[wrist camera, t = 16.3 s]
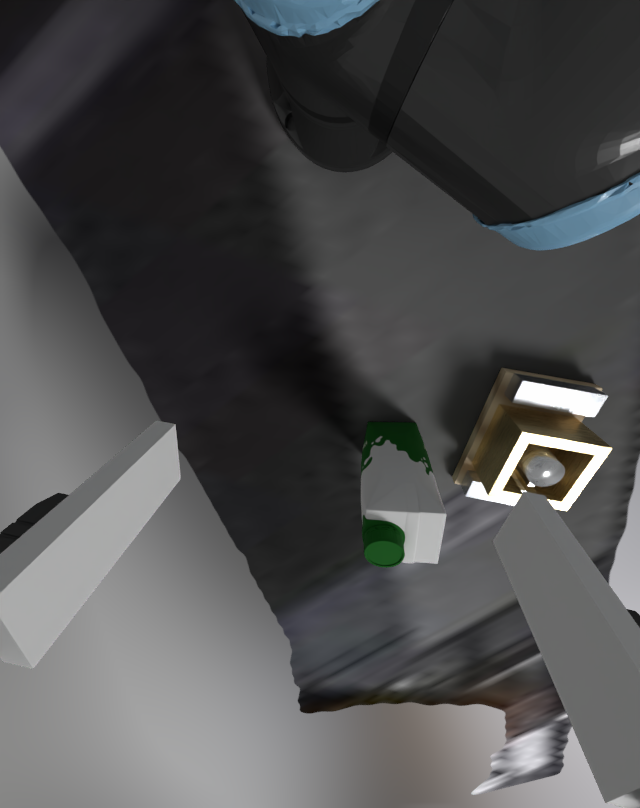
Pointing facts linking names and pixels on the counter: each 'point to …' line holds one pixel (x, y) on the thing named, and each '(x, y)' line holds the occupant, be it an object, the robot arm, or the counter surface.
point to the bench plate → (488, 413)
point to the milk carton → (399, 497)
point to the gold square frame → (526, 426)
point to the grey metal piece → (536, 459)
